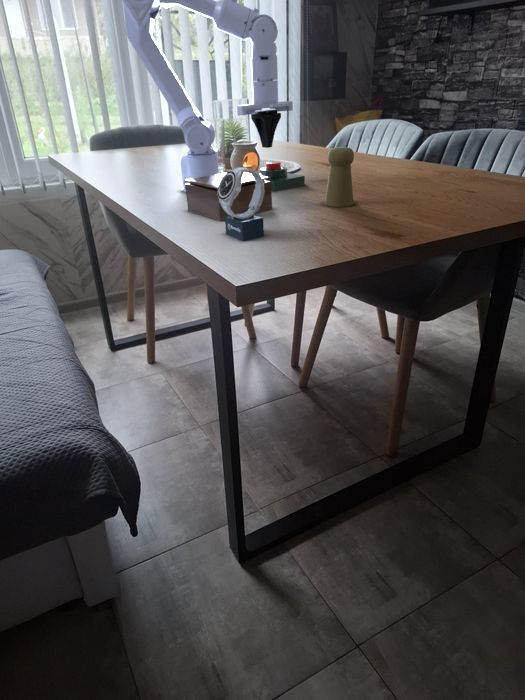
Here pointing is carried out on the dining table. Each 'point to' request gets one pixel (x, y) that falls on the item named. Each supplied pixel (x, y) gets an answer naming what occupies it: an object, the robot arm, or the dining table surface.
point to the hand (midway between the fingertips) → (267, 147)
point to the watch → (246, 222)
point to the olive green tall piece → (340, 177)
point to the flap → (245, 177)
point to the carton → (207, 202)
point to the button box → (282, 178)
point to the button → (273, 165)
